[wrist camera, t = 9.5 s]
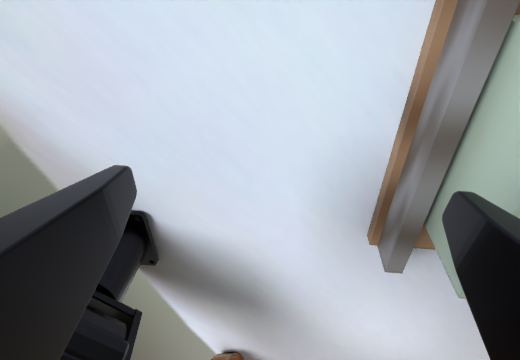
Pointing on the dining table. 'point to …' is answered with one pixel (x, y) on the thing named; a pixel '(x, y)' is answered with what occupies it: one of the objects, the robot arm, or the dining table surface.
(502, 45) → the pale green block
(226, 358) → the tin
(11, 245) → the robot arm
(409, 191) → the bottom track
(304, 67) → the dining table surface
